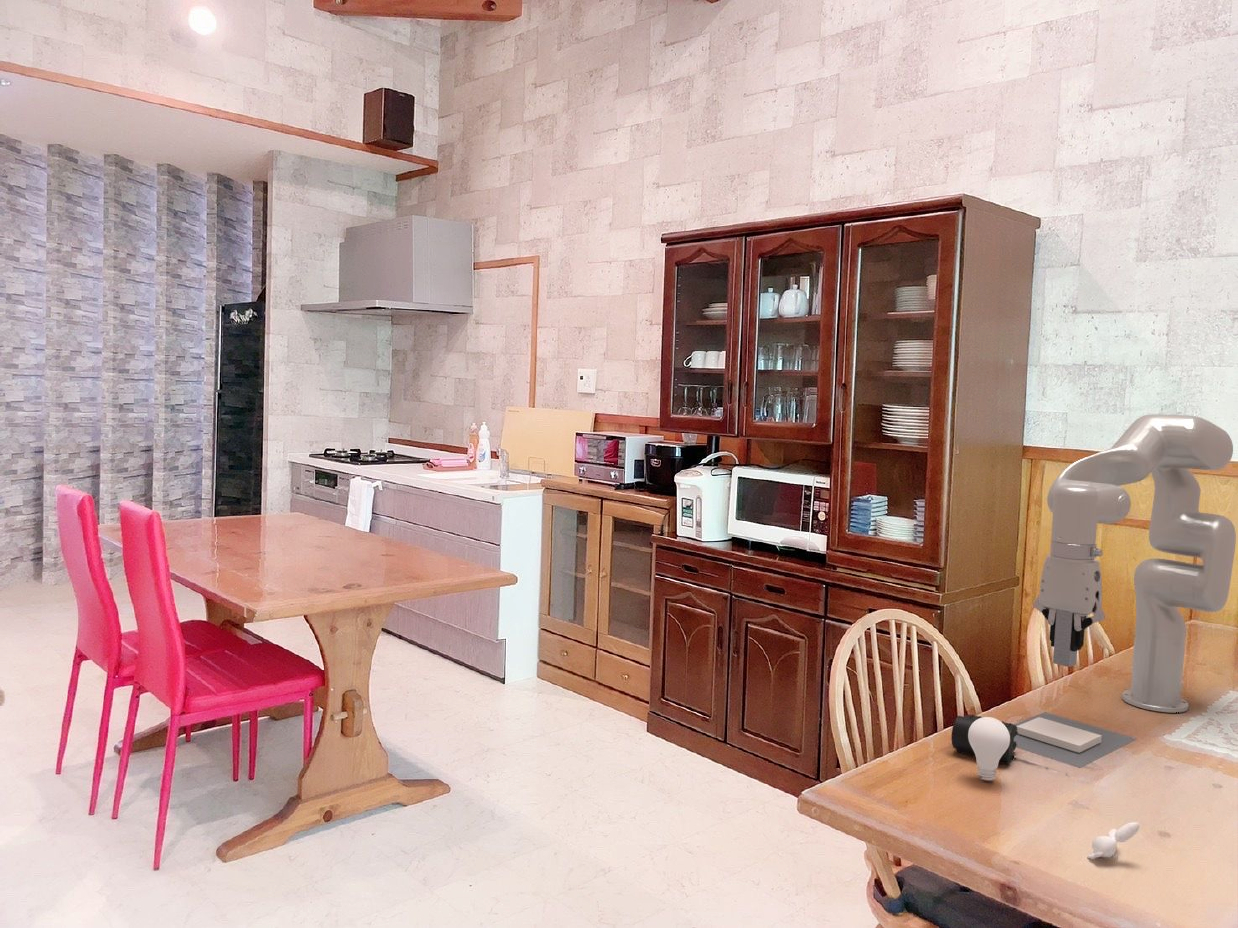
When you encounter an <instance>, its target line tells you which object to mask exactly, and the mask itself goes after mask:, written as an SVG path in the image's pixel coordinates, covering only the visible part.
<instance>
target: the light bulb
mask: <svg viewBox="0 0 1238 928" xmlns="http://www.w3.org/2000/svg"><path fill="white" fill-rule="evenodd" d="M968 739H969V743H970V745H971V747H972V749H973V751H974V753H975V755H976V756H975V758H976V760H975V761H976V765H977V770H976V771H977V772H976V774H977V777H978V778H979V779H981V780H982V781H983V782H986V783H987V782H991V781H994V780H996V778H997V777H996V776H997V771H996V770H997V769H998V766H999V763H1000V762H999V760H1000V758H1001V757H1002V755H1003V754H1004V753H1005V751H1006V750H1007V749H1008V747H1009V744H1010V735H1009V732H1008V730H1007V728H1006V726H1005V725H1004V724H1003V723H1002V721H1001V720H999V719H997V718H996V717H990V716H983V718H979V719H977V720H976V721H974V722H973V723H972V725H971V726H970V728H969V732H968Z"/></svg>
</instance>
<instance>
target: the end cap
mask: <svg viewBox="0 0 1238 928" xmlns="http://www.w3.org/2000/svg"><path fill="white" fill-rule="evenodd" d="M983 717H984V716H983ZM983 717H982V716H979V715H974V714H969V713H968V714H967V715H966V716H962V715H958V716H956V718H955V720H954V722H953V725H952V729H951V745H952V748H953V749H955V750H956V752H957V753H960V754H965V755H969V756H973V757H976V755H975V753H974V751H973V749H972V747H971V745H970V743H969V739H968V732H969V728H970V726H971V725H972V723H973V722H974V721H976V720H977V719H979V718H983ZM1001 722H1002V723H1003V724H1004V725H1005V726H1006V728H1007V730H1008V732H1009V735H1010V744H1009V747H1008V749H1007V750H1006V751H1005V753H1004V754H1003V755H1002V757H1001V758H1000V760H999V763H1000V764H1005V765H1010V764H1011V763H1012V760H1013V759H1014V760H1015V758H1016V757H1015V754H1014V751H1015V750H1016V749H1017V747H1016V746H1017V744H1016V742H1015V741H1014V737H1015V736H1016V735H1017V734H1018V732H1017V726H1016V725H1014V724H1015V723H1014V724H1013V723H1011V722H1004V721H1003V720H1002V721H1001ZM1014 760H1013V761H1014Z"/></svg>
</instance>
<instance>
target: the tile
mask: <svg viewBox="0 0 1238 928" xmlns="http://www.w3.org/2000/svg"><path fill="white" fill-rule="evenodd" d="M1017 732H1018V734H1020V735H1022V736H1025V737H1028V738H1032V739H1035V740H1038V741H1041V742H1044V743H1047V744H1051V745H1054V746H1057V747H1060V748H1063V749H1067V750H1070V751H1073V752H1076V753H1080V752H1082V751H1084V750H1086V749H1088V748H1090V747H1092V746H1094V745H1096V744H1099V743H1101V738H1102V735H1098V734H1095V733H1092V732H1088V731H1085V730H1081V729H1078V728H1075V727H1071V726H1068V725H1064V724H1061V723H1058V722H1054V721H1051V720H1047V719H1044V718H1041V717H1038V718H1036V719H1033V720H1031V721H1028V722H1026V723H1023V724H1021V725H1018V726H1017Z"/></svg>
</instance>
